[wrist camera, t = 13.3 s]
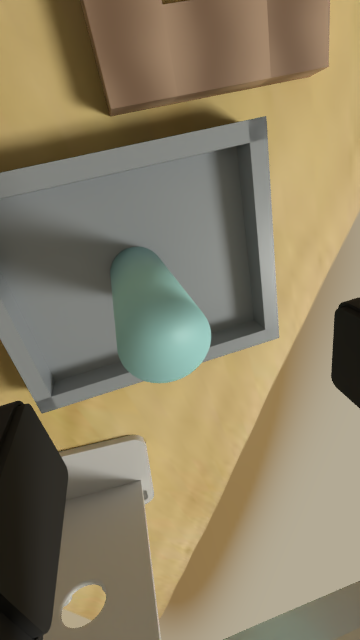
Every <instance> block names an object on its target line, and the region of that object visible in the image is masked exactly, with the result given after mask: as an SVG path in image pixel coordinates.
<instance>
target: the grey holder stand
mask: <svg viewBox="0 0 360 640" xmlns="http://www.w3.org/2000/svg"><path fill="white" fill-rule="evenodd" d="M59 454H60V456H61V457H62V459H63V461H64V463H65V464H66V466H67V470H68V486H67V494H66V503H65V512H64V520H63V529H62V538H61V547H60V555H59V564H58V573H57V582H56V590H55V599H54V608H53V616H52V623H51V627H50V630H49V631H48V633H46V634H44V635H43V640H161V637H160V628H159V619H158V611H157V603H156V595H155V586H154V578H153V570H152V562H151V554H150V545H149V537H148V529H147V521H146V513H145V504H147V503H148V502H150V501H151V500H152V499H153V497H154V490H153V484H152V478H151V472H150V466H149V460H148V454H147V447H146V442H145V441H144V440H143V437H141V436H139V435H129V436H125V437H120V438H116V439H112V440H108V441H103V442H99V443H95V444H91V445H86V446H82V447H78V448H73V449H69V450H65V451H61V452H59ZM92 584H95V585H99V586H101V587H102V590H103V591H104V592H105V593H106V601H105V604H104V607H103V608H102V610H101V612H100V613H99V614H98V615H97V617H96V618H95V619H93V620H92V621H91V622H90V623H88V624H86V625H85V626H82V627H79V628H68V627H66V626H65V625H64V624H63V622H62V619H61V614H62V609H63V607H64V606H66V605H67V604H68V603H69V602H70V601H71V599H72V595H73V594H74V593H75V592H76V591H77V590H79V589H80V588H82V587H84V586H87V585H92Z"/></svg>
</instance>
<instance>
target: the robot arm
mask: <svg viewBox="0 0 360 640" xmlns="http://www.w3.org/2000/svg"><path fill="white" fill-rule="evenodd" d="M331 378H332V381H333V383H334V385H335V386H336V387H337V388H338V389H339V390H340V391H341V392H342V393H343V394H344V395H345V396H347V397H348V398H349V399H350V400H351V401H352V402H353V403H354V404H355V405H357V406H358V407H359V408H360V298H356V299H352V300H349V301H346V302H343V303H341V304H340V305H339V308H338V309H337V310H336V311H335V318H334V339H333V356H332V373H331ZM67 486H68V470H67V466H66V464H65V463H64V461H63V459H62V457H61V456H60V454H59V452H58V451H57V449H56V447H55V445H54V444H53V442H52V440H51V439H50V437H49V435H48V434H47V432H46V430H45V428H44V427H43V425H42V423H41V422H40V420H39V418H38V416H37V415H36V413H35V411H34V410H33V408H32V406H31V405H30V404H23V402H21V401H16V402H12V403H9V404H6V405H2V406H0V640H43V635H44V634H46V633H48V631H49V630H50V627H51V623H52V616H53V608H54V599H55V590H56V582H57V573H58V564H59V555H60V547H61V538H62V529H63V520H64V512H65V503H66V494H67ZM223 640H360V581H358V582H356V583H354V584H351V585H349V586H347V587H344V588H342V589H340V590H337V591H335V592H333V593H330V594H328V595H326V596H323V597H321V598H319V599H316V600H314V601H312V602H309V603H307V604H305V605H302V606H300V607H298V608H295V609H293V610H291V611H288V612H286V613H284V614H281V615H279V616H277V617H275V618H272V619H270V620H267V621H265V622H263V623H260V624H258V625H256V626H253V627H251V628H249V629H246V630H244V631H242V632H239V633H237V634H235V635H233V636H231V637H228V638H226V639H223Z"/></svg>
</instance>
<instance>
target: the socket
mask: <svg viewBox="0 0 360 640" xmlns="http://www.w3.org/2000/svg"><path fill="white" fill-rule="evenodd" d="M80 2H81V5H82V9H83V13H84V17H85V21H86V25H87V29H88V33H89V36H90V40H91V44H92V48H93V52H94V56H95V60H96V64H97V67H98V71H99V75H100V79H101V83H102V87H103V91H104V95H105V98H106V102H107V106H108V110H109V114H110V116H115V115H120V114H125V113H130V112H135V111H140V110H145V109H150V108H155V107H160V106H165V105H170V104H175V103H180V102H185V101H190V100H195V99H200V98H205V97H210V96H215V95H221V94H226V93H231V92H236V91H241V90H246V89H251V88H256V87H261V86H266V85H271V84H276V83H281V82H286V81H291V80H296V79H301V78H306V77H310V76H312V75H314V74H316V73H317V72H319V71H321V70H323V69H325V68H327V67H329V23H330V0H189V1H182V2H176V3H169V4H162V0H80Z"/></svg>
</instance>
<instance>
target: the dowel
mask: <svg viewBox="0 0 360 640" xmlns="http://www.w3.org/2000/svg"><path fill="white" fill-rule="evenodd" d="M110 277H111V288H112V299H113V309H114V320H115V331H116V342H117V351H118V355H119V358H120V361H121V363H122V364H123V366H124V367H125V368H126V370H127V371H128V372H129V373H131V374H132V375H133V376H135V377H137V378H139V379H141V380H143V381H147V382H152V383H167V382H172V381H176V380H178V379H181V378H183V377H185V376H187V375H188V374H190V373H191V372H193V371H194V370H195V369H196V368H197V367H198V366H199V365H200V364H201V363H202V361H203V360H204V358H205V357H206V355H207V353H208V351H209V347H210V343H211V329H210V325H209V322H208V320H207V318H206V317H205V315H204V314H203V312H202V311H201V310H200V309H199V307H198V306H197V305H196V304H195V302H194V301H193V300H192V299H191V297H190V296H189V295H188V293H187V292H186V291H185V290H184V288H183V287H182V286H181V285H180V283H179V282H178V281H177V280H176V278H175V277H174V276H173V274H172V273H171V272H170V271H169V269H168V268H167V267H166V266H165V264H164V263H163V262H162V261H161V259H160V258H159V257H158V256H157V254H155V253H154V252H153V251H151V250H150V249H147V248H144V247H130V248H127V249H125V250H123V251H122V252H120V253H119V254H118V255H117V256H116V257H115V259H114V260H113V262H112V265H111V269H110Z"/></svg>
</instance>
